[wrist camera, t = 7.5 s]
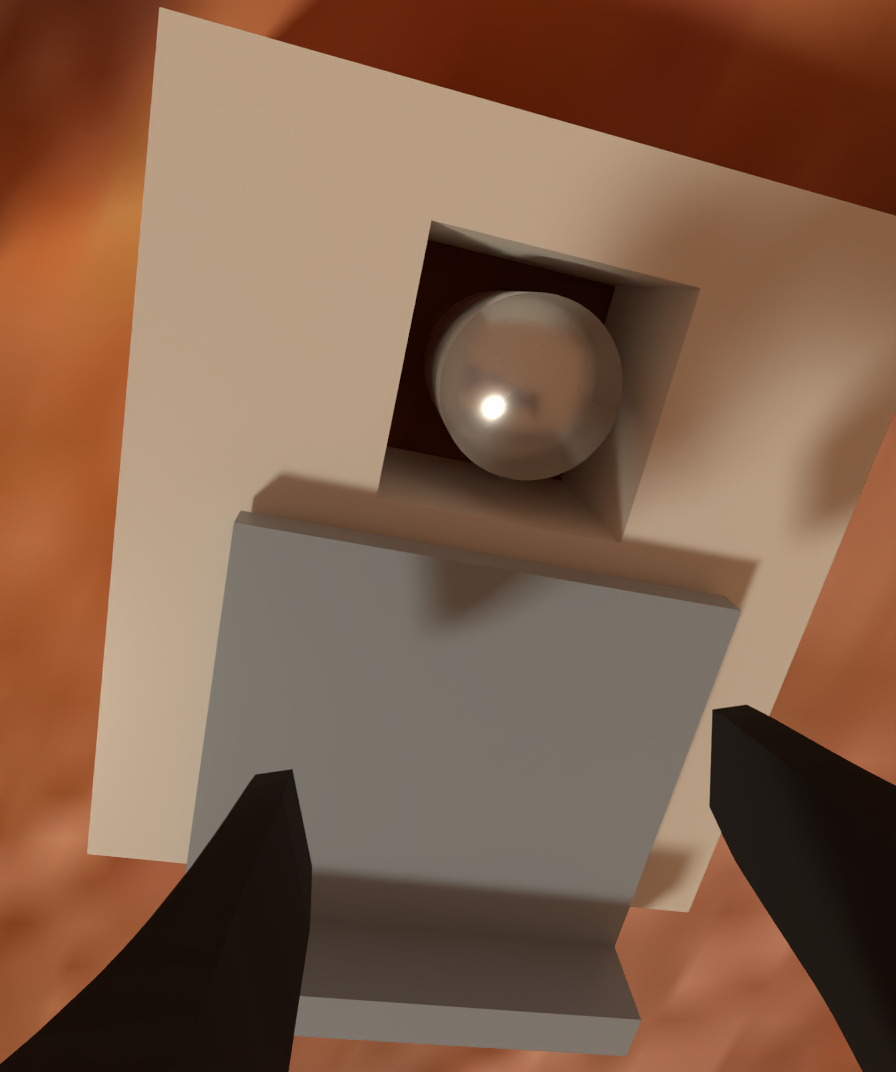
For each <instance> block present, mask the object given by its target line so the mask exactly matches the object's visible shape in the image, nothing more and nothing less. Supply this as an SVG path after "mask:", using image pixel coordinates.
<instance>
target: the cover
mask: <svg viewBox="0 0 896 1072" xmlns="http://www.w3.org/2000/svg"><path fill="white" fill-rule="evenodd" d="M740 614H741V610H740V609H739V608H738V607H737V606H736V605H735V604H733V603H732V602H731V601H730V600H729V599H728V598H727V597H726V596H722V595H716V594H711V593H705V592H699V591H694V590H688V589H682V588H677V587H671V586H665V585H660V584H654V583H648V582H643V581H637V580H631V579H626V578H620V577H615V576H609V575H603V574H598V573H592V572H586V571H581V570H575V569H569V568H564V567H558V566H552V565H547V564H541V563H535V562H530V561H524V560H518V559H513V558H507V557H501V556H496V555H490V554H485V553H479V552H473V551H468V550H462V549H456V548H451V547H445V546H439V545H434V544H428V543H422V542H417V541H411V540H405V539H400V538H394V537H388V536H383V535H377V534H371V533H366V532H360V531H355V530H349V529H343V528H338V527H332V526H326V525H321V524H315V523H309V522H304V521H298V520H292V519H287V518H281V517H275V516H270V515H264V514H258V513H253V512H247V511H240V512H239V514H238V516H237V518H236V520H235V521H234V525H233V532H232V540H231V547H230V554H229V561H228V569H227V576H226V583H225V590H224V598H223V605H222V612H221V619H220V627H219V634H218V641H217V648H216V655H215V663H214V670H213V677H212V684H211V692H210V699H209V706H208V713H207V721H206V728H205V735H204V742H203V750H202V757H201V764H200V771H199V779H198V786H197V793H196V800H195V808H194V815H193V822H192V829H191V837H190V844H189V851H188V858H187V866H186V873H187V871H188V870H189V869H190V867H191V866H192V865H193V863H194V862H195V860H196V859H197V858H198V856H199V855H200V854H201V852H202V851H203V849H204V848H205V847H206V845H207V844H208V842H209V841H210V840H211V838H212V837H213V836H214V834H215V833H216V831H217V830H218V828H219V827H220V825H221V824H222V822H223V821H224V820H225V818H226V817H227V815H228V814H229V812H230V811H231V809H232V808H233V806H234V805H235V803H236V802H237V800H238V799H239V797H240V796H241V794H242V793H243V791H244V790H245V788H246V787H247V785H248V784H249V782H250V781H251V780H252V778H253V777H254V776H255V775H256V774H262V773H269V772H276V771H283V770H290V769H293V774H294V779H295V784H296V789H297V794H298V799H299V804H300V809H301V813H302V818H303V823H304V828H305V833H306V838H307V843H308V848H309V853H310V858H311V863H312V890H311V916H310V931H309V938H308V945H307V952H306V959H305V965H304V972H303V979H302V986H301V992H300V999H299V1005H298V1012H297V1018H296V1025H295V1031H294V1036H303V1037H320V1038H336V1039H353V1040H369V1041H386V1042H402V1043H418V1044H435V1045H451V1046H468V1047H484V1048H500V1049H517V1050H533V1051H550V1052H566V1053H583V1054H599V1055H615V1056H626V1055H627V1053H628V1051H629V1048H630V1046H631V1043H632V1041H633V1038H634V1036H635V1033H636V1031H637V1029H638V1026H639V1024H640V1021H641V1018H640V1016H639V1013H638V1010H637V1007H636V1005H635V1002H634V999H633V997H632V994H631V991H630V988H629V986H628V983H627V980H626V977H625V975H624V972H623V969H622V967H621V964H620V961H619V958H618V956H617V953H616V950H615V944H616V941H617V939H618V936H619V933H620V931H621V928H622V925H623V923H624V920H625V918H626V915H627V912H628V910H629V907H630V904H631V902H632V899H633V896H634V894H635V891H636V888H637V886H638V883H639V881H640V878H641V875H642V873H643V870H644V867H645V865H646V862H647V859H648V857H649V854H650V851H651V849H652V846H653V844H654V841H655V838H656V836H657V833H658V830H659V828H660V825H661V822H662V820H663V817H664V815H665V812H666V809H667V807H668V804H669V801H670V799H671V796H672V793H673V791H674V788H675V785H676V783H677V780H678V778H679V775H680V772H681V770H682V767H683V764H684V762H685V759H686V756H687V754H688V751H689V748H690V746H691V743H692V741H693V738H694V735H695V733H696V730H697V727H698V725H699V722H700V719H701V717H702V714H703V712H704V709H705V706H706V704H707V701H708V698H709V696H710V693H711V690H712V688H713V685H714V682H715V680H716V677H717V675H718V672H719V669H720V667H721V664H722V661H723V659H724V656H725V653H726V651H727V648H728V646H729V643H730V640H731V638H732V635H733V632H734V630H735V627H736V624H737V622H738V619H739V616H740ZM186 873H185V874H186Z"/></svg>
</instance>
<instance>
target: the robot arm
mask: <svg viewBox="0 0 896 1072" xmlns="http://www.w3.org/2000/svg"><path fill="white" fill-rule="evenodd" d="M709 807H710V809H711V811H712V813H713V815H714V818H715V820H716V822H717V824H718V826H719V828H720V831H721V833H722V835H723V837H724V839H725V841H726V843H727V845H728V847H729V849H730V851H731V853H732V855H733V857H734V859H735V861H736V863H737V864H738V866H739V868H740V869H741V871H742V872H743V874H744V876H745V877H746V879H747V880H748V882H749V883H750V885H751V887H752V888H753V890H754V891H755V893H756V894H757V896H758V898H759V899H760V901H761V902H762V904H763V905H764V907H765V908H766V910H767V912H768V913H769V915H770V916H771V918H772V919H773V921H774V922H775V924H776V925H777V927H778V929H779V930H780V932H781V933H782V935H783V936H784V938H785V939H786V941H787V942H788V944H789V945H790V947H791V949H792V950H793V952H794V953H795V955H796V956H797V958H798V959H799V961H800V962H801V964H802V966H803V967H804V969H805V970H806V972H807V973H808V975H809V976H810V978H811V979H812V981H813V982H814V984H815V986H816V987H817V989H818V991H819V992H820V994H821V996H822V997H823V999H824V1001H825V1002H826V1004H827V1006H828V1007H829V1009H830V1011H831V1013H832V1014H833V1016H834V1018H835V1020H836V1022H837V1024H838V1026H839V1027H840V1029H841V1031H842V1033H843V1035H844V1037H845V1039H846V1041H847V1043H848V1045H849V1046H850V1048H851V1050H852V1052H853V1054H854V1056H855V1058H856V1060H857V1062H858V1064H859V1065H860V1067H861V1069H862V1071H863V1072H896V786H895V785H893V784H891V783H889V782H887V781H885V780H884V779H882V778H880V777H878V776H876V775H874V774H872V773H870V772H868V771H866V770H864V769H863V768H861V767H859V766H857V765H855V764H853V763H851V762H850V761H848V760H846V759H844V758H842V757H841V756H839V755H837V754H835V753H833V752H832V751H830V750H828V749H826V748H824V747H823V746H821V745H819V744H817V743H816V742H814V741H812V740H810V739H809V738H807V737H805V736H803V735H802V734H800V733H798V732H796V731H795V730H793V729H791V728H789V727H787V726H786V725H784V724H782V723H780V722H779V721H777V720H775V719H773V718H771V717H770V716H768V715H766V714H764V713H762V712H760V711H759V710H757V709H755V708H753V707H751V706H749V705H740V706H733V707H726V708H719V709H712V736H711V768H710V800H709ZM311 890H312V863H311V858H310V853H309V848H308V843H307V838H306V833H305V828H304V823H303V818H302V813H301V809H300V804H299V799H298V794H297V789H296V784H295V779H294V774H293V769H290V770H283V771H276V772H269V773H262V774H256V775H255V776H254V777H253V778H252V780H251V781H250V782H249V784H248V785H247V787H246V788H245V790H244V791H243V793H242V794H241V796H240V797H239V799H238V800H237V802H236V803H235V805H234V806H233V808H232V809H231V811H230V812H229V814H228V815H227V817H226V818H225V820H224V821H223V822H222V824H221V825H220V827H219V828H218V830H217V831H216V833H215V834H214V836H213V837H212V838H211V840H210V841H209V842H208V844H207V845H206V847H205V848H204V849H203V851H202V852H201V854H200V855H199V856H198V858H197V859H196V860H195V862H194V863H193V865H192V866H191V867H190V869H189V870H188V871H187V873H186V874H185V875H184V877H183V878H182V879H181V880H180V882H179V883H178V884H177V885H176V887H175V888H174V889H173V890H172V892H171V893H170V894H169V895H168V897H167V898H166V899H165V900H164V902H163V903H162V904H161V905H160V907H159V908H158V909H157V910H156V912H155V913H154V914H153V915H152V917H151V918H150V919H149V920H148V921H147V922H146V924H145V925H144V926H143V927H142V928H141V929H140V931H139V932H138V933H137V934H136V935H135V936H134V937H133V939H132V940H131V941H130V942H129V943H128V944H127V945H126V946H125V947H124V949H123V950H122V951H121V952H120V953H119V954H118V955H117V956H116V957H115V958H114V959H113V960H112V961H111V962H110V963H109V964H108V965H107V967H106V968H105V969H104V970H103V971H102V972H101V973H100V974H99V975H98V976H97V977H96V978H95V979H94V980H93V981H92V982H91V983H90V984H88V985H87V986H86V987H85V988H84V989H83V990H82V991H81V992H80V993H79V994H78V995H77V996H76V997H75V998H74V999H72V1000H71V1001H70V1002H69V1003H68V1004H67V1005H66V1006H65V1007H64V1008H63V1009H62V1010H61V1011H60V1012H59V1013H58V1014H57V1015H55V1016H54V1017H53V1018H52V1019H51V1020H50V1021H49V1022H48V1023H47V1024H46V1025H45V1026H44V1027H43V1028H42V1029H41V1030H39V1031H38V1032H37V1033H36V1034H35V1035H34V1036H33V1037H32V1038H30V1039H29V1040H28V1041H27V1042H26V1043H25V1044H23V1045H22V1046H21V1047H20V1048H19V1049H18V1050H16V1051H15V1052H14V1053H13V1054H12V1055H10V1056H9V1057H8V1058H7V1059H6V1060H5V1061H3V1062H2V1063H1V1064H0V1072H288V1071H289V1064H290V1058H291V1051H292V1044H293V1038H294V1031H295V1025H296V1018H297V1012H298V1005H299V999H300V992H301V986H302V979H303V972H304V965H305V959H306V952H307V945H308V938H309V931H310V916H311Z"/></svg>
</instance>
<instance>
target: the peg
mask: <svg viewBox="0 0 896 1072" xmlns="http://www.w3.org/2000/svg"><path fill="white" fill-rule="evenodd" d="M424 377H425V382H426V386H427V389H428V392H429V394H430V397H431V399H432V401H433V403H434V405H435V407H436V408H437V410H438V412H439V414H440V416H441V418H442V420H443V422H444V424H445V426H446V427H447V429H448V431H449V433H450V435H451V437H452V438H453V440H454V442H455V443H456V445H457V446H458V447H459V449H460V450H461V451H462V452H463V453H464V454H465V455H466V456H467V457H468V458H469V459H470V460H471V461H473V462H474V463H475V464H476V465H478V466H479V467H481V468H483V469H484V470H486V471H488V472H490V473H493V474H495V475H497V476H500V477H504V478H508V479H514V480H539V479H545V478H549V477H553V476H556V475H559V474H561V473H564V472H566V471H568V470H570V469H572V468H573V467H575V466H577V465H578V464H580V463H581V462H582V461H584V460H585V459H587V458H588V457H589V456H590V455H591V454H592V453H593V452H594V451H595V450H596V449H597V448H598V447H599V445H600V444H601V443H602V442H603V440H604V439H605V437H606V436H607V434H608V433H609V431H610V429H611V427H612V425H613V423H614V421H615V419H616V416H617V413H618V410H619V407H620V403H621V398H622V389H623V372H622V366H621V360H620V357H619V353H618V350H617V347H616V345H615V343H614V341H613V339H612V337H611V335H610V334H609V332H608V330H607V329H606V327H605V326H604V325H603V324H602V323H601V321H600V320H599V319H598V318H597V317H596V316H595V315H594V314H593V313H591V312H590V311H589V310H588V309H586V308H585V307H583V306H582V305H580V304H579V303H577V302H575V301H573V300H571V299H568V298H566V297H562V296H559V295H556V294H550V293H542V292H523V291H504V290H491V291H483V292H479V293H476V294H473V295H470V296H468V297H466V298H464V299H462V300H460V301H459V302H457V303H456V304H454V305H453V306H452V307H450V308H449V309H448V310H447V311H446V312H445V313H444V314H443V315H442V316H441V318H440V319H439V320H438V322H437V323H436V325H435V326H434V328H433V330H432V332H431V334H430V337H429V339H428V342H427V345H426V349H425V355H424Z"/></svg>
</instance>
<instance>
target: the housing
mask: <svg viewBox="0 0 896 1072" xmlns="http://www.w3.org/2000/svg"><path fill="white" fill-rule="evenodd" d="M428 240H430V241H435V242H439V243H443V244H447V245H451V246H455V247H459V248H463V249H467V250H471V251H475V252H479V253H483V254H487V255H491V256H495V257H499V258H503V259H507V260H511V261H515V262H519V263H523V264H528V265H532V266H536V267H540V268H544V269H548V270H552V271H556V272H560V273H564V274H568V275H572V276H576V277H580V278H584V279H588V280H592V281H596V282H600V283H604V284H608V285H612V286H615V288H614V292H613V296H612V299H611V303H610V306H609V310H608V314H607V317H606V321H605V324H604V326H605V327H606V329H607V330H608V332H609V334H610V335H611V337H612V339H613V341H614V343H615V345H616V347H617V350H618V353H619V357H620V360H621V366H622V372H623V389H622V398H621V403H620V407H619V410H618V413H617V416H616V419H615V421H614V423H613V425H612V427H611V429H610V431H609V433H608V434H607V436H606V437H605V439H604V440H603V442H602V443H601V444H600V445H599V447H598V448H597V449H596V450H595V451H594V452H593V453H592V454H591V455H590V456H589V457H588V458H587V459H585V460H584V461H582V462H581V463H580V464H578V465H577V466H575V467H573V468H572V469H570V470H568V471H566V472H564V473H563V475H562V479H561V481H560V480H555V479H550V478H545V479H539V480H514V479H508V478H504V477H500V476H497V475H495V474H493V473H490V472H488V471H486V470H484V469H483V468H481V467H479V466H478V465H476V464H474V463H469V462H464V461H459V460H453V459H448V458H443V457H438V456H433V455H428V454H423V453H418V452H413V451H408V450H403V449H398V448H393V447H388V446H387V441H388V436H389V431H390V426H391V421H392V416H393V411H394V406H395V401H396V396H397V391H398V386H399V381H400V376H401V371H402V366H403V361H404V356H405V351H406V346H407V341H408V336H409V331H410V326H411V321H412V316H413V311H414V306H415V301H416V296H417V291H418V286H419V281H420V276H421V271H422V266H423V261H424V256H425V251H426V246H427V241H428ZM895 409H896V216H895V215H891V214H888V213H884V212H881V211H877V210H874V209H870V208H867V207H863V206H860V205H856V204H853V203H849V202H846V201H842V200H839V199H835V198H831V197H828V196H824V195H821V194H817V193H814V192H810V191H807V190H803V189H800V188H796V187H793V186H789V185H786V184H782V183H779V182H775V181H772V180H768V179H764V178H761V177H757V176H754V175H750V174H747V173H743V172H740V171H736V170H733V169H729V168H726V167H722V166H719V165H715V164H712V163H708V162H705V161H701V160H697V159H694V158H690V157H687V156H683V155H680V154H676V153H673V152H669V151H666V150H662V149H659V148H655V147H652V146H648V145H645V144H641V143H638V142H634V141H631V140H627V139H623V138H620V137H616V136H613V135H609V134H606V133H602V132H599V131H595V130H592V129H588V128H585V127H581V126H578V125H574V124H571V123H567V122H564V121H560V120H556V119H553V118H549V117H546V116H542V115H539V114H535V113H532V112H528V111H525V110H521V109H518V108H514V107H511V106H507V105H504V104H500V103H497V102H493V101H489V100H486V99H482V98H479V97H475V96H472V95H468V94H465V93H461V92H458V91H454V90H451V89H447V88H444V87H440V86H437V85H433V84H430V83H426V82H422V81H419V80H415V79H412V78H408V77H405V76H401V75H398V74H394V73H391V72H387V71H384V70H380V69H377V68H373V67H370V66H366V65H363V64H359V63H355V62H352V61H348V60H345V59H341V58H338V57H334V56H331V55H327V54H324V53H320V52H317V51H313V50H310V49H306V48H303V47H299V46H296V45H292V44H288V43H285V42H281V41H278V40H274V39H271V38H267V37H264V36H260V35H257V34H253V33H250V32H246V31H243V30H239V29H236V28H232V27H229V26H225V25H222V24H218V23H214V22H211V21H207V20H204V19H200V18H197V17H193V16H190V15H186V14H183V13H179V12H176V11H172V10H169V9H165V8H162V7H159V18H158V30H157V41H156V53H155V65H154V77H153V88H152V100H151V112H150V123H149V135H148V147H147V159H146V170H145V182H144V194H143V205H142V217H141V229H140V241H139V252H138V264H137V276H136V287H135V299H134V311H133V323H132V334H131V346H130V358H129V369H128V381H127V393H126V405H125V416H124V428H123V440H122V452H121V463H120V475H119V487H118V498H117V510H116V522H115V534H114V545H113V557H112V569H111V580H110V592H109V604H108V616H107V627H106V639H105V651H104V662H103V674H102V686H101V698H100V709H99V721H98V733H97V744H96V756H95V768H94V780H93V791H92V803H91V815H90V826H89V838H88V850H87V854H94V855H104V856H114V857H125V858H135V859H145V860H155V861H166V862H176V863H186V864H187V858H188V851H189V844H190V837H191V829H192V822H193V815H194V808H195V800H196V793H197V786H198V779H199V771H200V764H201V757H202V750H203V742H204V735H205V728H206V721H207V713H208V706H209V699H210V692H211V684H212V677H213V670H214V663H215V655H216V648H217V641H218V634H219V627H220V619H221V612H222V605H223V598H224V590H225V583H226V576H227V569H228V561H229V554H230V547H231V540H232V532H233V525H234V521H235V520H236V518H237V516H238V514H239V512H240V511H247V512H253V513H258V514H264V515H270V516H275V517H281V518H287V519H292V520H298V521H304V522H309V523H315V524H321V525H326V526H332V527H338V528H343V529H349V530H355V531H360V532H366V533H371V534H377V535H383V536H388V537H394V538H400V539H405V540H411V541H417V542H422V543H428V544H434V545H439V546H445V547H451V548H456V549H462V550H468V551H473V552H479V553H485V554H490V555H496V556H501V557H507V558H513V559H518V560H524V561H530V562H535V563H541V564H547V565H552V566H558V567H564V568H569V569H575V570H581V571H586V572H592V573H598V574H603V575H609V576H615V577H620V578H626V579H631V580H637V581H643V582H648V583H654V584H660V585H665V586H671V587H677V588H682V589H688V590H694V591H699V592H705V593H711V594H716V595H722V596H726V597H727V598H728V599H729V600H730V601H731V602H732V603H733V604H735V605H736V606H737V607H738V608H739V609H740V610H741V614H740V616H739V619H738V622H737V624H736V627H735V630H734V632H733V635H732V638H731V640H730V643H729V646H728V648H727V651H726V653H725V656H724V659H723V661H722V664H721V667H720V669H719V672H718V675H717V677H716V680H715V682H714V685H713V688H712V690H711V693H710V696H709V698H708V701H707V704H706V706H705V709H704V712H703V714H702V717H701V719H700V722H699V725H698V727H697V730H696V733H695V735H694V738H693V741H692V743H691V746H690V748H689V751H688V754H687V756H686V759H685V762H684V764H683V767H682V770H681V772H680V775H679V778H678V780H677V783H676V785H675V788H674V791H673V793H672V796H671V799H670V801H669V804H668V807H667V809H666V812H665V815H664V817H663V820H662V822H661V825H660V828H659V830H658V833H657V836H656V838H655V841H654V844H653V846H652V849H651V851H650V854H649V857H648V859H647V862H646V865H645V867H644V870H643V873H642V875H641V878H640V881H639V883H638V886H637V888H636V891H635V894H634V896H633V899H632V902H631V904H630V907H638V908H649V909H659V910H669V911H679V912H689V910H690V907H691V905H692V902H693V900H694V897H695V895H696V893H697V890H698V888H699V885H700V883H701V880H702V878H703V876H704V873H705V871H706V868H707V866H708V863H709V861H710V859H711V856H712V854H713V851H714V849H715V846H716V844H717V842H718V839H719V837H720V834H721V831H720V828H719V826H718V824H717V822H716V820H715V818H714V815H713V813H712V811H711V809H710V807H709V800H710V768H711V736H712V709H719V708H726V707H733V706H740V705H749V706H751V707H753V708H755V709H757V710H759V711H760V712H762V713H764V714H766V715H768V716H769V715H770V713H771V710H772V708H773V705H774V703H775V701H776V698H777V696H778V693H779V691H780V688H781V686H782V684H783V681H784V679H785V676H786V674H787V671H788V669H789V667H790V664H791V662H792V659H793V657H794V654H795V652H796V650H797V647H798V645H799V642H800V640H801V637H802V635H803V633H804V630H805V628H806V625H807V623H808V620H809V618H810V616H811V613H812V611H813V608H814V606H815V603H816V601H817V598H818V596H819V594H820V591H821V589H822V586H823V584H824V581H825V579H826V577H827V574H828V572H829V569H830V567H831V564H832V562H833V560H834V557H835V555H836V552H837V550H838V547H839V545H840V543H841V540H842V538H843V535H844V533H845V530H846V528H847V526H848V523H849V521H850V518H851V516H852V513H853V511H854V509H855V506H856V504H857V501H858V499H859V496H860V494H861V492H862V489H863V487H864V484H865V482H866V479H867V477H868V475H869V472H870V470H871V467H872V465H873V462H874V460H875V458H876V455H877V453H878V450H879V448H880V445H881V443H882V441H883V438H884V436H885V433H886V431H887V428H888V426H889V424H890V421H891V419H892V416H893V414H894V411H895Z"/></svg>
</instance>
